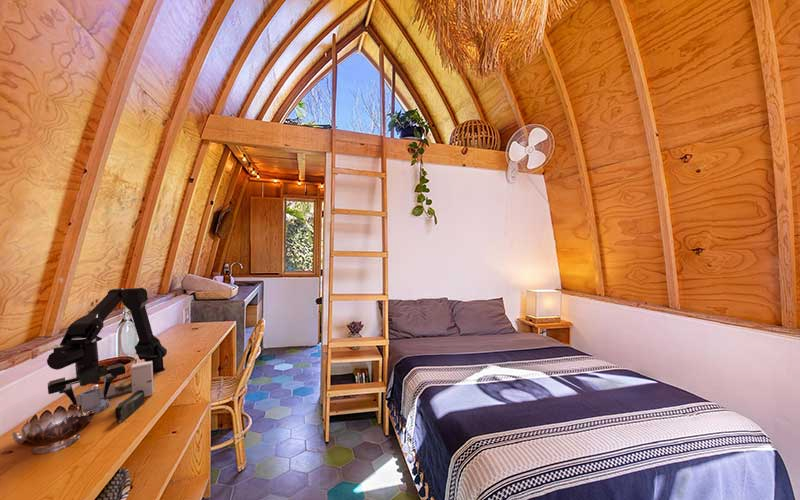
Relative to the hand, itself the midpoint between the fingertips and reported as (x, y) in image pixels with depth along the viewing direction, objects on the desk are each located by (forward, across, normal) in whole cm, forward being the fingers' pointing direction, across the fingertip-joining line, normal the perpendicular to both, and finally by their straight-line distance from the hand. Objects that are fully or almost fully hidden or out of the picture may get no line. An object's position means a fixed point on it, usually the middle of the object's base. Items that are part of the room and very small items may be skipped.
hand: (90, 401), depth 108 cm
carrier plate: (+3, +6, +12) cm, 14 cm away
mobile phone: (+3, +8, -14) cm, 16 cm away
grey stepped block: (+3, 0, 0) cm, 3 cm away
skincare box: (+3, +14, -2) cm, 14 cm away
